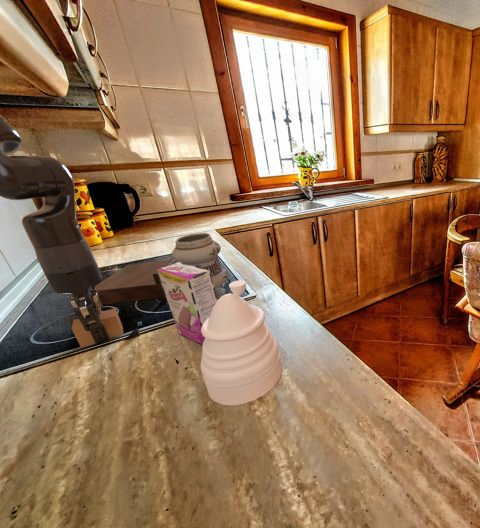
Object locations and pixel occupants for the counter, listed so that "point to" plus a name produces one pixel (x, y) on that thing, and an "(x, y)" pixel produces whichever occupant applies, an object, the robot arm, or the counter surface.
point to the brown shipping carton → (110, 324)
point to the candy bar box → (188, 297)
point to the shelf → (134, 283)
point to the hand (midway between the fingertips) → (102, 335)
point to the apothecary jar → (202, 257)
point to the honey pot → (238, 351)
